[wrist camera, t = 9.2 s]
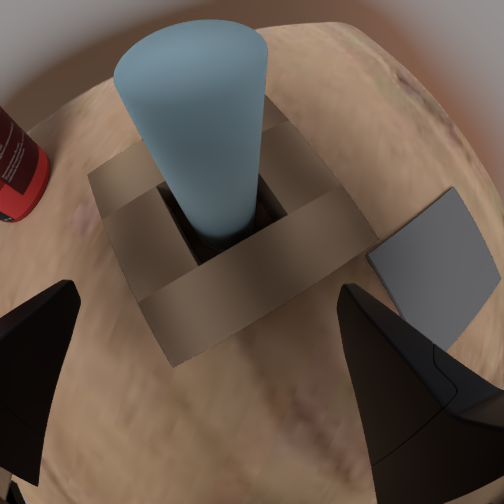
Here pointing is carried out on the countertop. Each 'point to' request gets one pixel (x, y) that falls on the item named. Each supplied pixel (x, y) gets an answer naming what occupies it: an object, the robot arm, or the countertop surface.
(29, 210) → the canned food
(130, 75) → the light blue cylinder
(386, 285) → the mat
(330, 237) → the block
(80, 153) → the countertop surface
